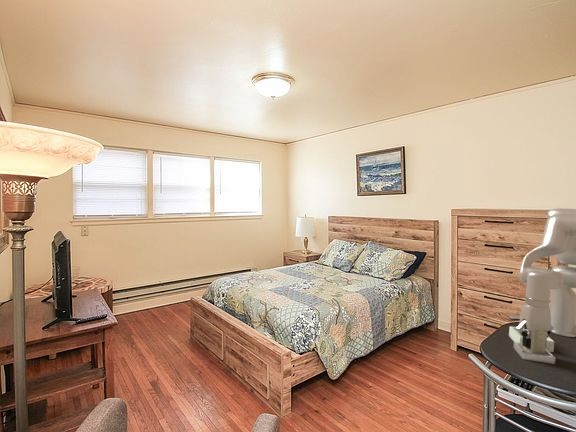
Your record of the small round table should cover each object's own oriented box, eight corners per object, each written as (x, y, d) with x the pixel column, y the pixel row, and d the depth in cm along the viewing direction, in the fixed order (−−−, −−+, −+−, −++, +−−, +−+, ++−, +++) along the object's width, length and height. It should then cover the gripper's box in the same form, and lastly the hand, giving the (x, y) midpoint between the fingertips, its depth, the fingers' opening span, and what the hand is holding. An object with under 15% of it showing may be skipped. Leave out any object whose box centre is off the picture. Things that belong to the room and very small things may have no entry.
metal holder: (542, 351, 131) (542, 345, 131) (554, 364, 121) (555, 357, 121) (513, 347, 134) (513, 341, 134) (523, 359, 124) (523, 353, 124)
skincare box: (535, 352, 130) (537, 323, 129) (545, 357, 126) (547, 327, 125) (521, 352, 130) (523, 323, 129) (530, 358, 125) (533, 328, 124)
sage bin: (539, 340, 142) (540, 330, 142) (553, 352, 131) (554, 341, 131) (508, 335, 146) (509, 326, 146) (519, 347, 134) (520, 336, 134)
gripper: (547, 299, 131) (544, 341, 132) (509, 299, 129) (506, 343, 130) (565, 305, 124) (562, 350, 125) (525, 306, 122) (522, 352, 123)
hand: (533, 346), depth 127 cm, fingers closed on skincare box, 6 cm apart
